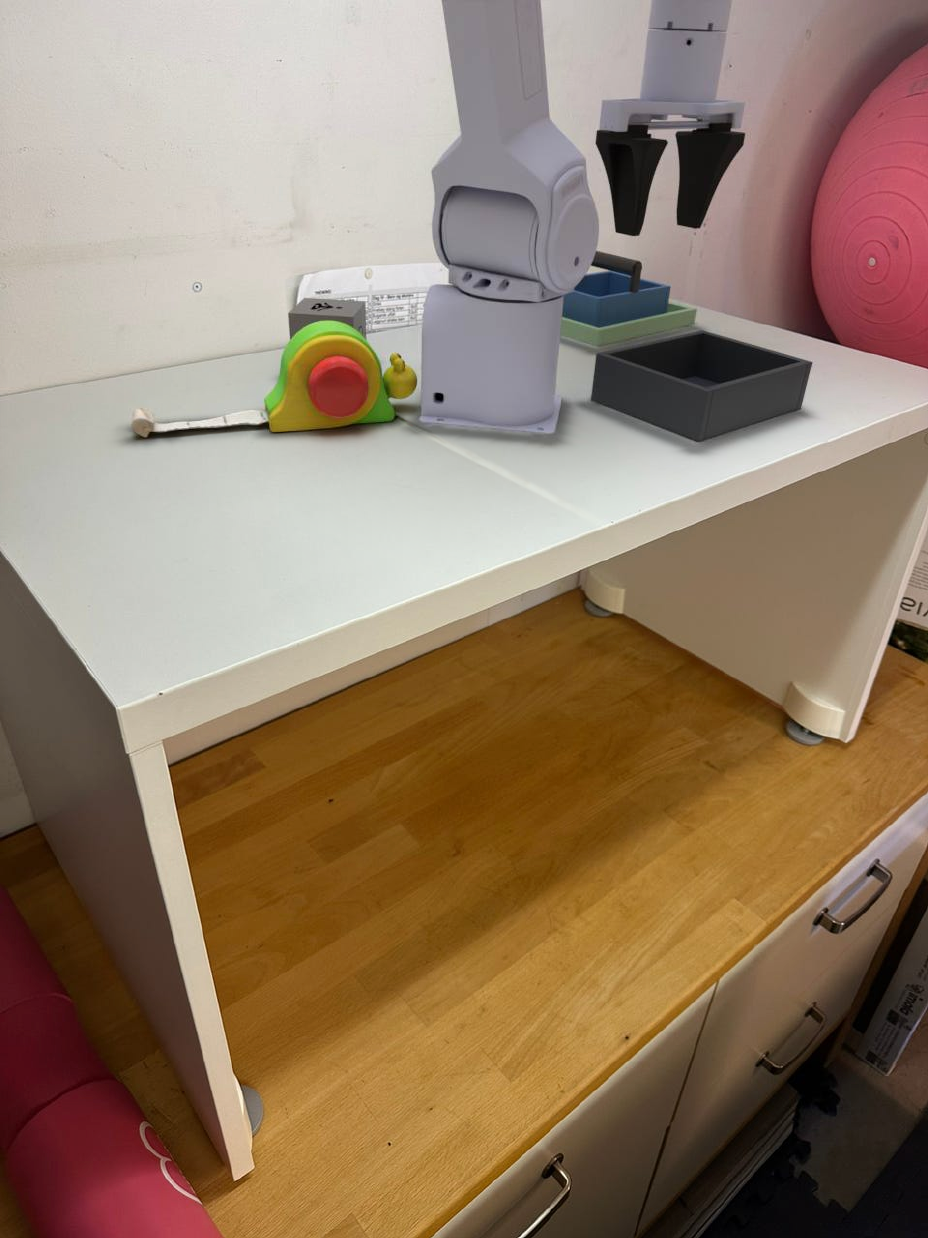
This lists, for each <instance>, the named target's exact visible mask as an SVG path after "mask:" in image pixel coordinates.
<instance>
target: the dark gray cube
mask: <svg viewBox="0 0 928 1238" xmlns="http://www.w3.org/2000/svg"><path fill="white" fill-rule="evenodd" d="M366 305H367V304H366V300H365V301H364V300H349V299H331V298H330V299H329V298H315V297H314V298H313V297H304V298H303V299H301V300H300V301H299V302H298V303H297V304H296V305H295V306H294V307H293V308H292V309H290V311H289V312H288V313H287V315H288V329H289V340H290V339H291V338H292V337H293V336H294V335H295V334H296V333H297V332H298V331H300V330H301V329H302V328H304V327H305V326H307V325H309V324H312V323H315V322H319V321H337V322H341V323H344V324H347V325H349V326H351V327H353V328H354V329H356V330H357V331H358V332H359V333H360V334H361V335H362V336H363V337H364V338H365V339H366V340H367V309H366Z"/></svg>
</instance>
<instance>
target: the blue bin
mask: <svg viewBox="0 0 928 1238" xmlns="http://www.w3.org/2000/svg"><path fill="white" fill-rule="evenodd" d="M590 267H593V268H598V269H603V270H604V271H598V272H592V273H586V275H585V276H584V277H583V278H582V280H581V281H580V282H579V283H578V284H577V285H576V286H575V287H574V291H573V292H571V293H568V294H564V301H563V311H562V317H564V318H568V319H571V320H574V321H578V322H581V323H584V324H588V325H591V326H594V327H598V328H601V327H605V326H610V325H614V324H619V323H624V322H628V321H633V320H637V319H642V318H647V317H651V316H656V315H660V314H665V313H667V307H668V301H669V300H670V293H671V288H672V286H671V285H668V284H664V283H659V282H656V281H652V280H648V279H646V278H645V279H644V278H641V275H642V270H643V264H642V262H641V261H640V260H637V259H633V258H629V257H624V256H620V255H617V254H612V253H607V252H603V251H599V250H596V253H595V256H594V259H593V261H592V264H591V266H590ZM669 302H670V301H669Z"/></svg>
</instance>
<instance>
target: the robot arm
mask: <svg viewBox="0 0 928 1238" xmlns="http://www.w3.org/2000/svg"><path fill="white" fill-rule="evenodd" d="M650 2H651V3H650V11H649V19H648V28H647V29H648V30H647V34H646V43H645V51H644V60H643V67H642V75H641V83H640V92H639V97H638V98H621V99H602V100H601V108H600V116H599V128H598V129H597V130H596V132H595V133H596V135H595V146H596V148H597V150H598V153H599V155H600V157H601V161H602V163H603V166H604V170H605V173H606V177H607V181H608V185H609V191H610V197H611V202H612V213H613V223H614V232H615V233H616V234H621V235H625V236H629V237H639V236H640V235H641V232H642V229H643V226H644V222H645V217H646V213H647V209H648V208H647V207H648V202H649V197H650V191H651V187H652V183H653V181H654V177H655V174H656V173H657V168H658V167H659V163H660V161H661V158H662V156H663V154H664V152H665V150H666V148H667V146H668V144H669V142H668V140H667V139H663V138H656V137H652V133H648V132H649V131H653V130H654V131H655V130H656V131H657V130H677V131H676V132H675V134H674V136H675V141H676V146H677V156H678V168H679V169H678V170H679V171H678V173H679V174H678V175H679V177H678V191H677V200H676V225H677V226H680V227H685V228H690V229H694V230H697V229H698V230H699V229H701V228H702V226H703V223H704V220H705V218H706V215H707V213H708V211H709V208H710V206H711V203H712V201H713V199H714V196H715V193H716V191H717V190H718V187H719V185H720V182H721V180H722V179H723V177H724V175H725V173H726V172H727V170H728V168H729V166H730V165H731V163H732V161H733V160H735V159H734V158H735V157H736V155H738V153H739V152H740V150H741V149H743V146H744V145H745V138H746V133H745V132H744V131H743V132H742V131H734V130H732V129H735V130H737V129H741V127H742V122H743V116H744V110H745V106H746V101H744V100H731V99H717V95H718V88H719V83H720V76H721V71H722V64H723V58H724V53H725V46H726V40H727V34H728V33H727V32H728V28H729V22H730V15H731V9H732V4H733V0H651V1H650ZM441 5H442V12H443V19H444V26H445V32H446V33H445V34H446V40H447V47H448V54H449V61H450V67H451V73H452V74H451V75H452V81H453V88H454V94H455V102H456V108H457V109H456V110H457V116H458V121H459V123H458V124H459V128H460V129H459V130H460V135H459V136H458V137H457V138H456V139H455V140H454V141H453V142H452V143H451V145H449V146H448V148H446V150H445V151H444V152H443V153H442V154H441V156H440V157H439V159H438V160H437V161H436V163H435V164H434V166H433V167H432V168H431V178H432V184H433V193H434V205H433V212H432V213H433V214H432V222H431V229H432V230H431V232H432V241H433V247H434V250H435V253H436V256H437V258H438V259H439V261H440V263H441V264H442V266H444V267H445V268H446V269H448V284H444V283H443V284H441V283H439V284H436V283H435V284H431V285H430V286H429V287H428V290H427V293H426V296H425V300H424V306H423V314H422V323H421V325H422V326H421V359H420V361H421V363H420V364H421V367H420V369H421V372H420V417H419V418H418V421H419V423H422V424H428V425H429V424H430V425H439V426H451V427H463V428H473V429H482V430H483V429H485V430H495V431H506V432H517V433H527V434H538V435H539V434H540V435H554V434H555V433H556V429H557V424H558V419H559V415H560V410H561V405H562V401H563V397H562V396H561V395H558V394H556V385H557V376H558V363H559V353H560V343H561V335H560V333H561V322H562V311H563V301H564V294H568V293H571V292H573V291H574V287H575V286H576V285H577V284H578V283H579V282H580V281H581V280H582V278H583V277H584V276H585V275H586V274H588V271H589V270H590V268H591V267H592V266H591V264H592V261H593V259H594V256H595V253H596V251H597V248H598V244H599V239H600V238H599V237H600V236H599V235H600V221H599V219H600V218H599V213H598V210H597V207H596V203H595V200H594V197H593V196H592V193H591V190H590V186H589V182H588V181H589V180H588V174H587V172H588V170H587V159H586V158H585V155H584V154H583V152H581V151H580V150H579V148H578V147H577V146H576V145H575V144H574V143H573V142H572V141H571V140H570V139H569V138H568V137H567V136H566V135H565V133H563V131H561V130H560V129H559V128H558V126H557V125H556V124H555V123H554V122H553V121H552V119H551V117H550V115H551V114H550V105H549V104H550V103H549V101H550V100H549V90H548V89H549V87H548V79H547V77H548V76H547V65H546V53H545V52H546V51H545V39H544V38H545V37H544V28H543V27H544V25H543V14H542V1H541V0H441ZM668 116H681V118H684V119H693V120H668V119H669V118H668ZM653 120H655V121H653ZM691 129H692V130H691Z"/></svg>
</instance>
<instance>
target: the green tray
mask: <svg viewBox="0 0 928 1238" xmlns="http://www.w3.org/2000/svg"><path fill="white" fill-rule="evenodd" d="M697 312H698V309H697V308H696V307H692V306H690V305H689V306H688V305H684V304H680V303H678V302H673V301H668V307H667V313H665V314H660V315H656V316H651V317H647V318H642V319H637V320H633V321H628V322H624V323H619V324H614V325H610V326H605V327H601V328H598V327H594V326H591V325H588V324H584V323H581V322H578V321H574V320H571V319H568V318H564V317H562V322H561V333H560V336H563V337H565V338H568V339H573V340H576V341H579V342H582V343H585V344H588V345H591V346H594V347H602V346H606V345H610V344H614V343H620V342H623V341H626V340H631V339H636V338H640V337H644V336H648V335H652V334H657V333H662V332H666V331H670V330H675V329H678V328H683V327H687V326H691V325H695V323H696V318H697Z"/></svg>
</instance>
